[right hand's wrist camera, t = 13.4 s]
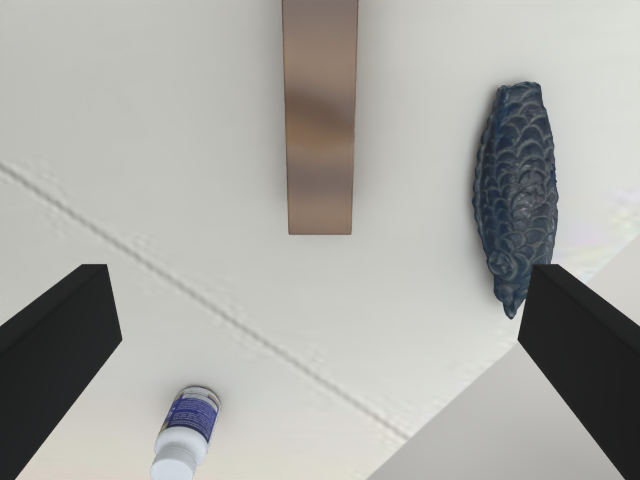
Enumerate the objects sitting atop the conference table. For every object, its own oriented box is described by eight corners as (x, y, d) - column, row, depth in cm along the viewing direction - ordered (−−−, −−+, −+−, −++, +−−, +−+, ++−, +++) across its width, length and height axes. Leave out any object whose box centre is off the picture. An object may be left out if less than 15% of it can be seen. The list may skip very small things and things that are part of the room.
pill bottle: (173, 383, 45) (141, 451, 37) (221, 387, 45) (199, 455, 37) (175, 420, 47) (144, 492, 39) (220, 424, 47) (199, 496, 39)
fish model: (469, 307, 41) (489, 335, 37) (465, 90, 34) (489, 90, 30) (536, 298, 41) (564, 325, 37) (545, 77, 34) (582, 75, 29)
